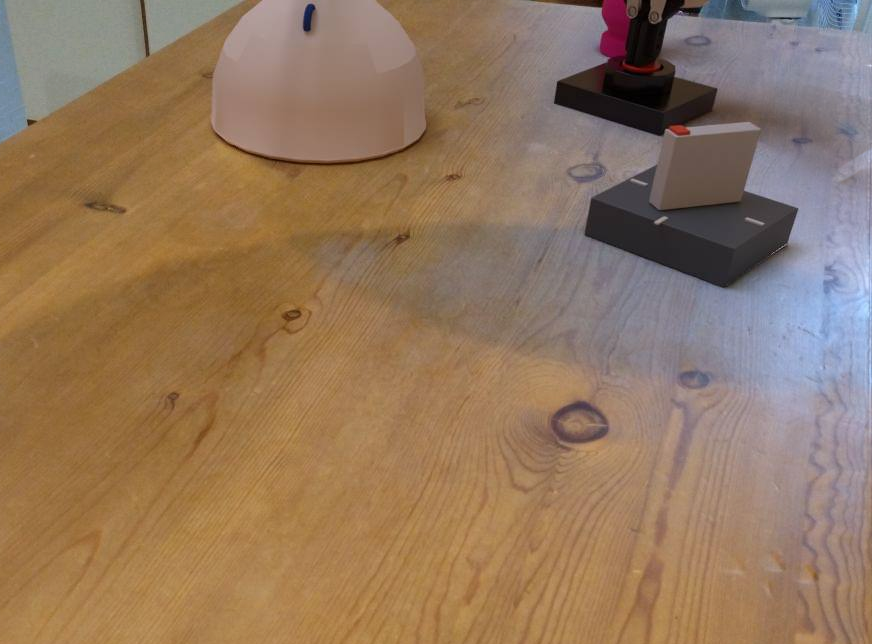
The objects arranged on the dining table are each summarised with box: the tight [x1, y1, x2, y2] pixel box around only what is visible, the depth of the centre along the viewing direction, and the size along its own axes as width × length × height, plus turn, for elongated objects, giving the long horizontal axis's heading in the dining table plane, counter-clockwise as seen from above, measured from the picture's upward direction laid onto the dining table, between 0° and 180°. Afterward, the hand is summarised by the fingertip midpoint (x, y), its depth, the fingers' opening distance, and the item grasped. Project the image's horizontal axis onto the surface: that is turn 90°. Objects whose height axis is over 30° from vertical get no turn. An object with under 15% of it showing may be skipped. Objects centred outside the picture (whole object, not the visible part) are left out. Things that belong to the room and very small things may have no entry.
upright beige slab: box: [649, 121, 762, 210], centre depth 78 cm, size 7×2×6 cm, turn 106°
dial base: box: [584, 164, 799, 288], centre depth 81 cm, size 12×11×3 cm
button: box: [622, 60, 660, 73], centre depth 103 cm, size 4×4×2 cm
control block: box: [553, 55, 719, 137], centre depth 103 cm, size 12×10×4 cm
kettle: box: [209, 0, 427, 164], centre depth 94 cm, size 20×21×18 cm
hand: (640, 62), depth 102 cm, fingers closed
